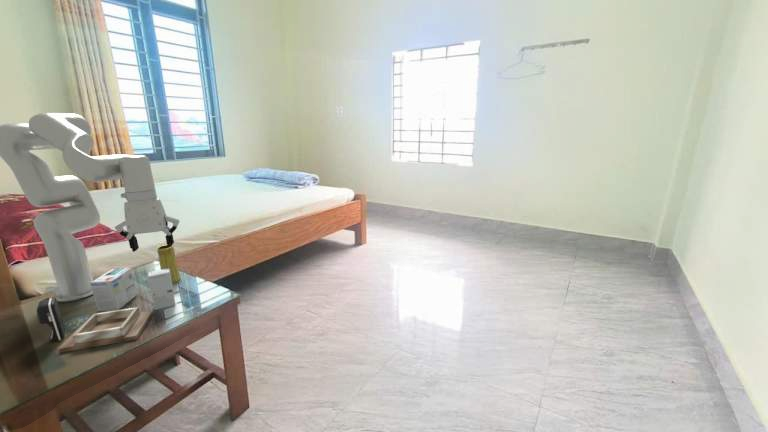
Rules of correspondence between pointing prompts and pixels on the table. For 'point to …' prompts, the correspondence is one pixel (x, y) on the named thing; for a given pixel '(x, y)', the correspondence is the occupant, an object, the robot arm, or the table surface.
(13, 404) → the table surface
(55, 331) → the black hard case
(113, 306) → the light bulb box
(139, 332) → the holder
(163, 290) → the skincare box
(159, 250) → the vase
